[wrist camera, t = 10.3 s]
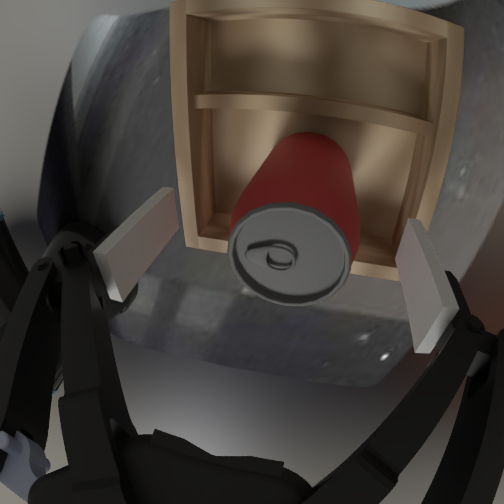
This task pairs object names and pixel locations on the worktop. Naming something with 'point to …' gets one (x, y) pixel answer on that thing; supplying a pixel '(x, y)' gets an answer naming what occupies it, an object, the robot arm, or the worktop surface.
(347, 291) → the worktop surface
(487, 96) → the worktop surface
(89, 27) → the worktop surface
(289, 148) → the beer can
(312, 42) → the crate
